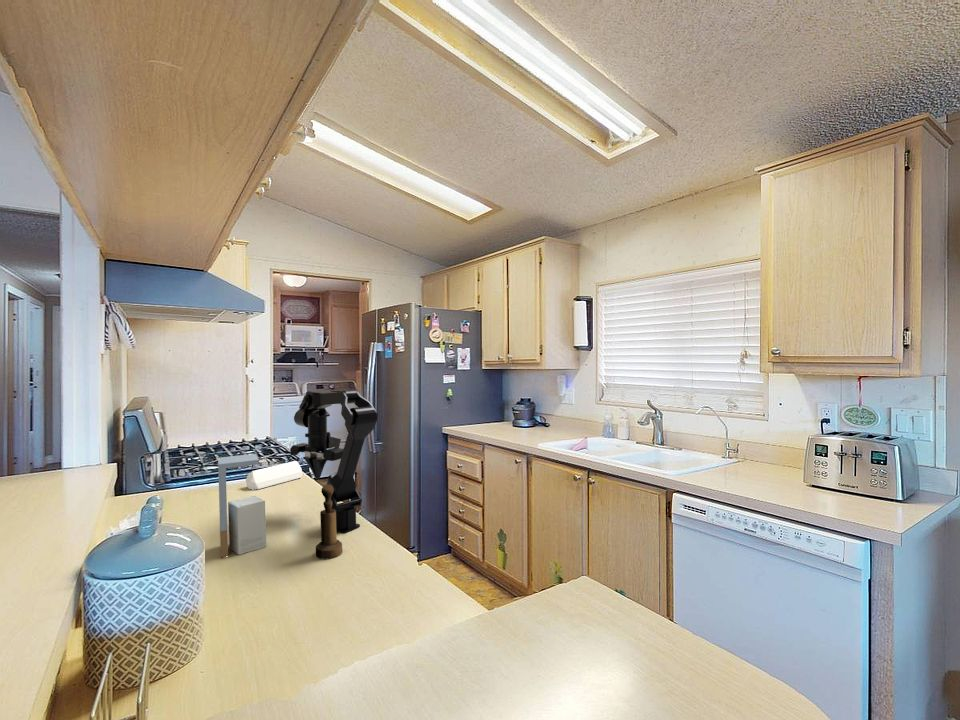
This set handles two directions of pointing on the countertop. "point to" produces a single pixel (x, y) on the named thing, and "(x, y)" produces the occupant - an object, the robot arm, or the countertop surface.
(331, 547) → the brown chess piece
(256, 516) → the supplement box
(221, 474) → the inverted l-shaped post
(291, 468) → the white faceted cylinder
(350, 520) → the robot arm
